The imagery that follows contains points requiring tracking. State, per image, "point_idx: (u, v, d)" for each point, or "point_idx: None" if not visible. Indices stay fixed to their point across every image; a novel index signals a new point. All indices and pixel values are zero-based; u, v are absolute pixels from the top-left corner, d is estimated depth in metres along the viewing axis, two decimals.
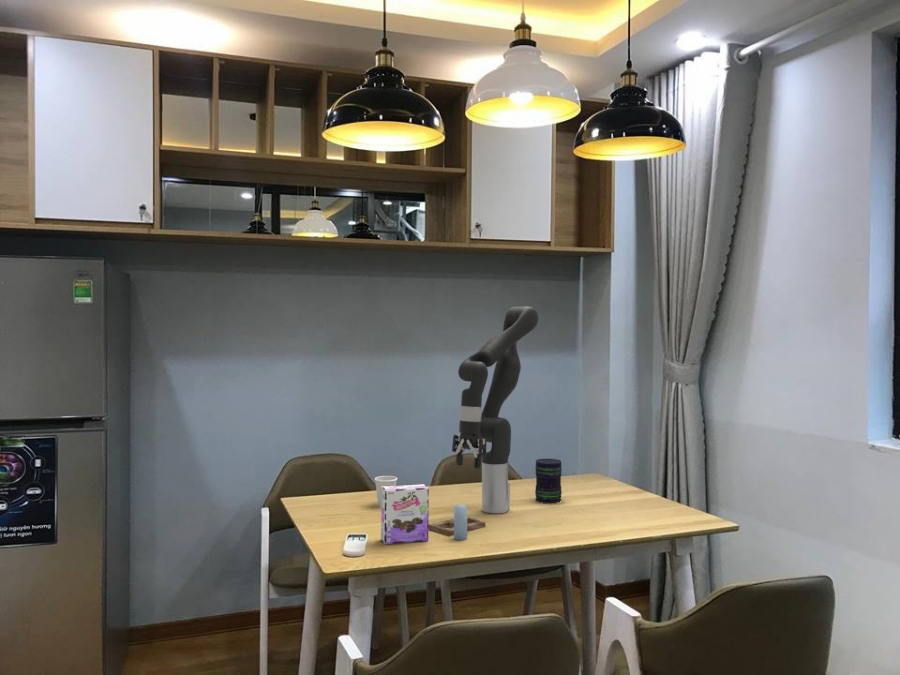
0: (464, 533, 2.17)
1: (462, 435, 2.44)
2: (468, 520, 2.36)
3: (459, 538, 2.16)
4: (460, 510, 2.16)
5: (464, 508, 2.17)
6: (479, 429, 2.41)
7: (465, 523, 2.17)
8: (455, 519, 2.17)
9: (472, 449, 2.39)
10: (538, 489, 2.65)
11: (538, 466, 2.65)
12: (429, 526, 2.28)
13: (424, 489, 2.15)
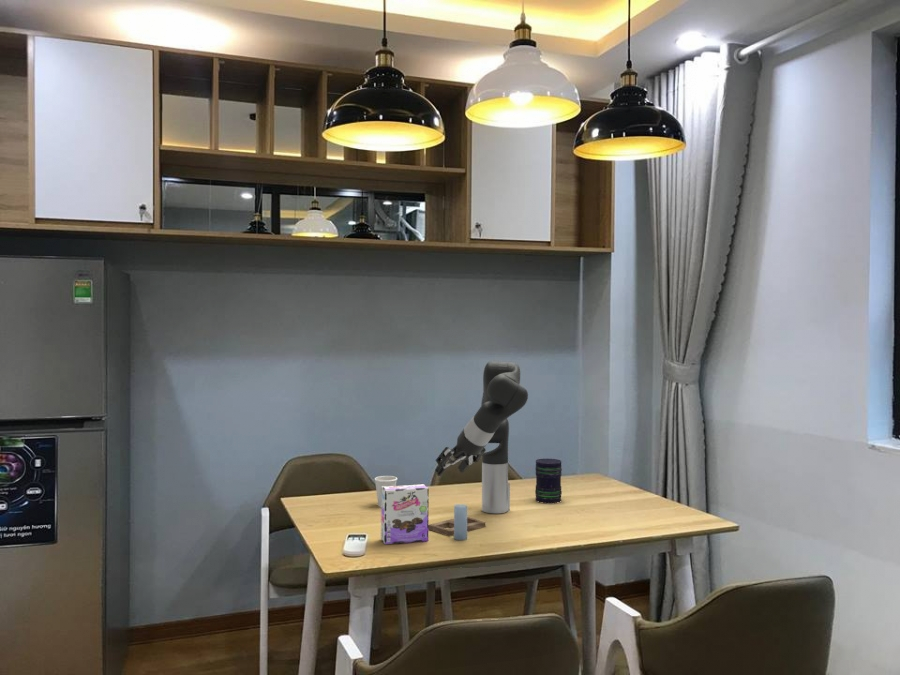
0: (464, 533, 2.17)
1: (462, 451, 1.93)
2: (468, 520, 2.36)
3: (459, 538, 2.16)
4: (460, 510, 2.16)
5: (464, 508, 2.17)
6: None
7: (465, 523, 2.17)
8: (455, 519, 2.17)
9: (471, 460, 1.98)
10: (538, 489, 2.65)
11: (538, 466, 2.65)
12: (429, 526, 2.28)
13: (424, 489, 2.15)
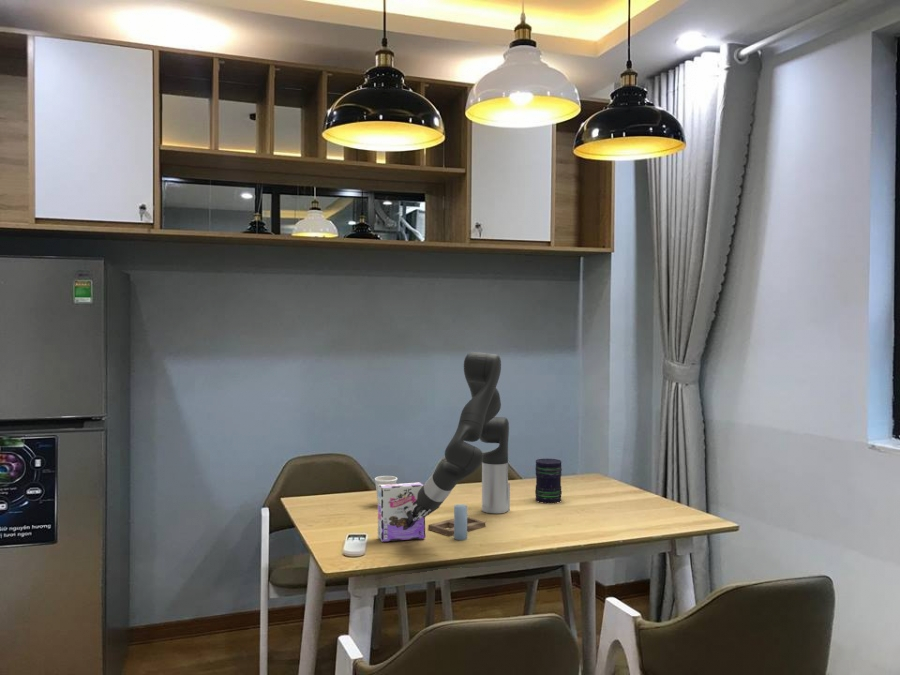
0: (464, 533, 2.17)
1: (420, 506, 2.06)
2: (468, 520, 2.36)
3: (459, 538, 2.16)
4: (460, 510, 2.16)
5: (464, 508, 2.17)
6: None
7: (465, 523, 2.17)
8: (455, 519, 2.17)
9: (424, 515, 2.11)
10: (538, 489, 2.65)
11: (538, 466, 2.65)
12: (429, 526, 2.28)
13: (420, 486, 2.17)
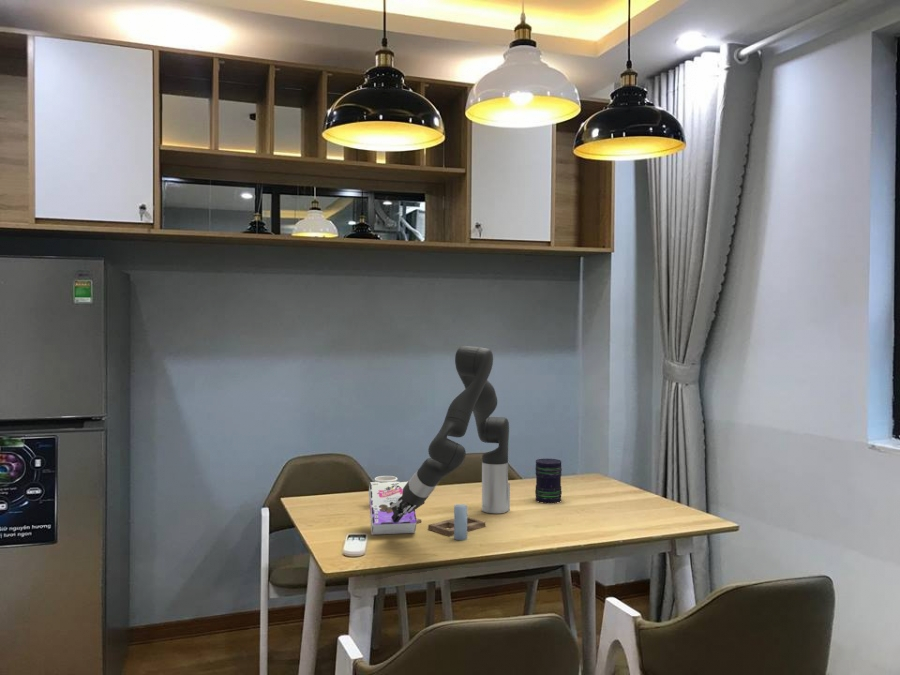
0: (464, 533, 2.17)
1: (405, 501, 2.11)
2: (468, 520, 2.36)
3: (459, 538, 2.16)
4: (460, 510, 2.16)
5: (464, 508, 2.17)
6: None
7: (465, 523, 2.17)
8: (455, 519, 2.17)
9: (409, 510, 2.16)
10: (538, 489, 2.65)
11: (538, 466, 2.65)
12: (429, 526, 2.28)
13: (407, 481, 2.32)
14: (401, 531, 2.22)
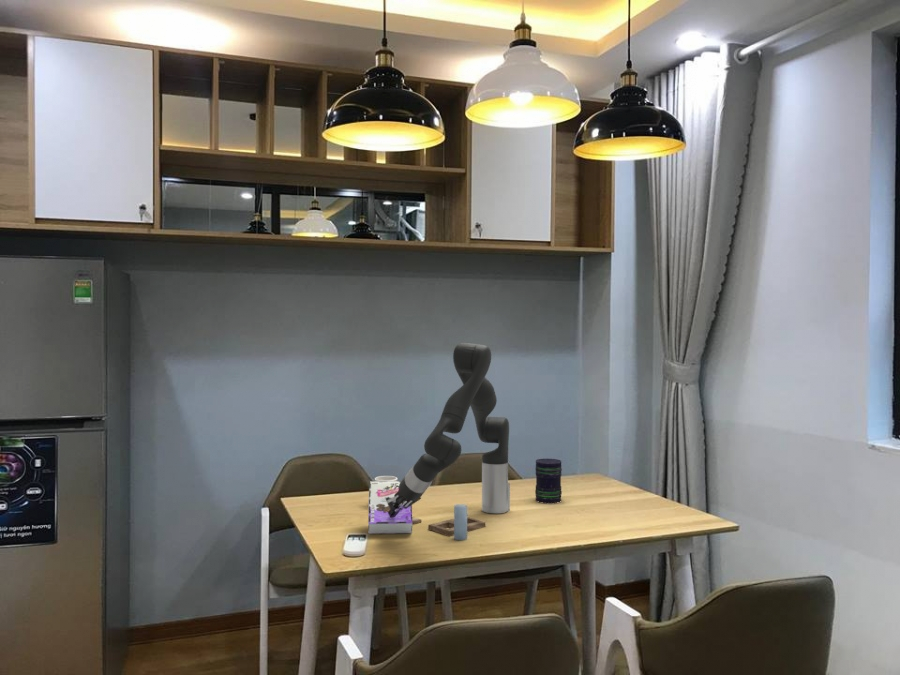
0: (464, 533, 2.17)
1: (401, 497, 2.12)
2: (468, 520, 2.36)
3: (459, 538, 2.16)
4: (460, 510, 2.16)
5: (464, 508, 2.17)
6: None
7: (465, 523, 2.17)
8: (455, 519, 2.17)
9: (406, 506, 2.17)
10: (538, 489, 2.65)
11: (538, 466, 2.65)
12: (429, 526, 2.28)
13: None
14: (398, 531, 2.22)
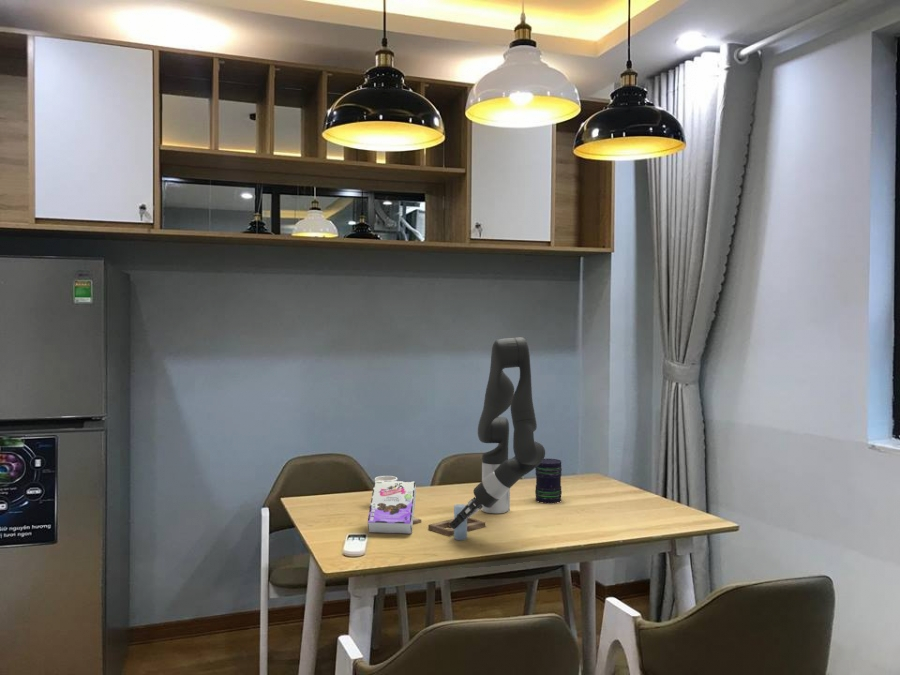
0: (464, 533, 2.17)
1: (479, 505, 2.13)
2: (468, 520, 2.36)
3: (459, 538, 2.16)
4: (460, 510, 2.16)
5: None
6: None
7: (465, 523, 2.17)
8: None
9: None
10: (538, 489, 2.65)
11: (538, 466, 2.65)
12: (429, 526, 2.28)
13: (411, 482, 2.32)
14: (397, 531, 2.23)
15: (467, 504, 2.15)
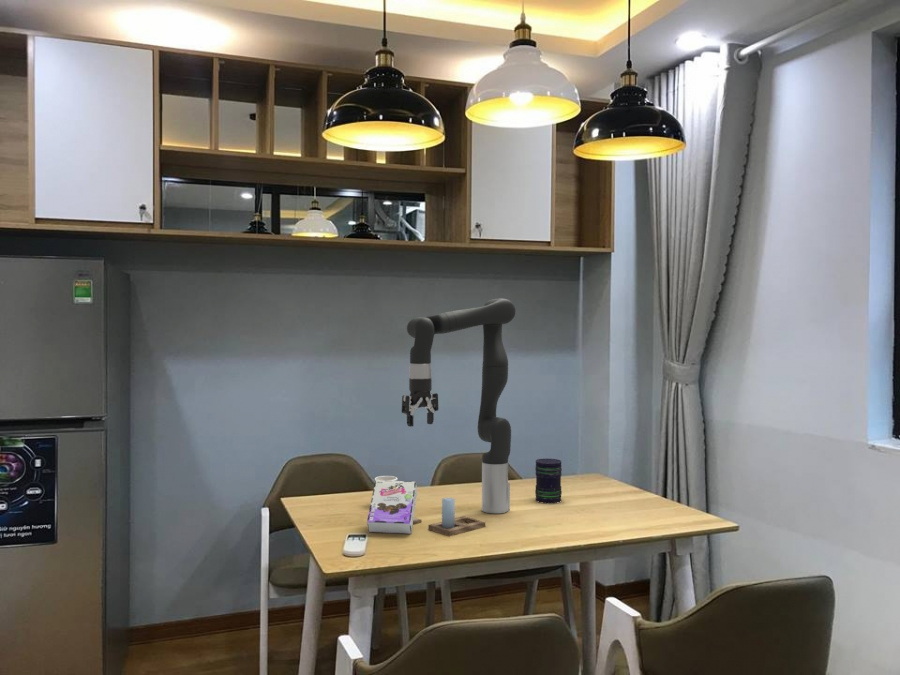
0: (452, 526, 2.26)
1: (416, 394, 2.36)
2: (468, 520, 2.36)
3: None
4: (448, 503, 2.25)
5: (451, 501, 2.25)
6: None
7: (452, 516, 2.26)
8: (443, 512, 2.26)
9: (431, 405, 2.39)
10: (538, 489, 2.65)
11: (538, 466, 2.65)
12: (429, 526, 2.28)
13: (411, 482, 2.31)
14: (397, 531, 2.23)
15: (411, 401, 2.38)
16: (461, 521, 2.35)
